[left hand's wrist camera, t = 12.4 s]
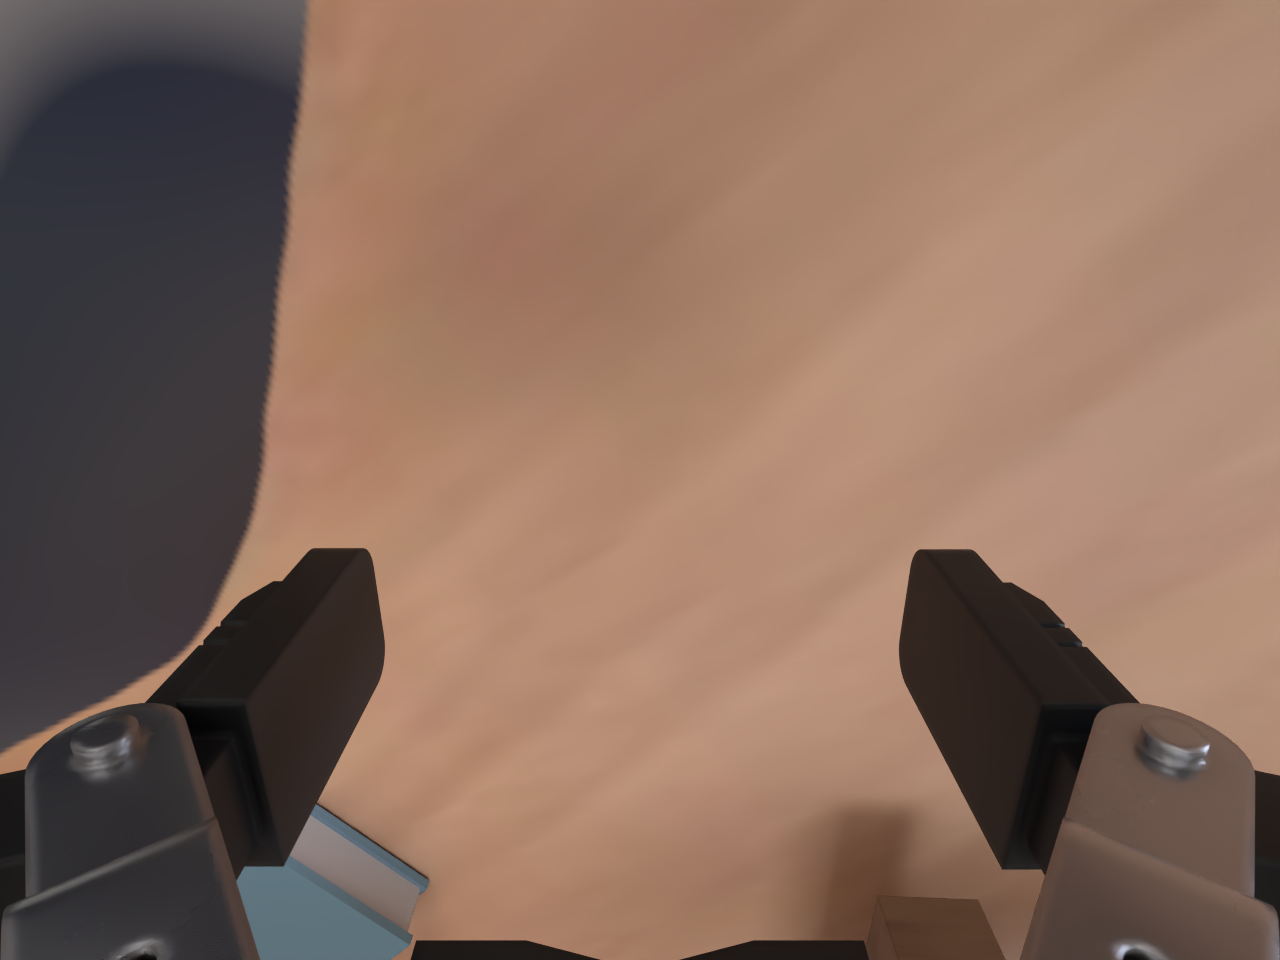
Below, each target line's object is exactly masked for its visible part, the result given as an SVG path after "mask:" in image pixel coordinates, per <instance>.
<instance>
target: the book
mask: <svg viewBox="0 0 1280 960" xmlns="http://www.w3.org/2000/svg"><path fill="white" fill-rule="evenodd" d="M236 882H237V885H238V888H239V892H240V895H241V898H242V901H243V905H244V908H245V911H246V915H247V918H248V921H249V924H250V928H251V931H252V934H253V937H254V941H255V944H256V947H257V950H258V954H259V957H260V960H391V959H392V958H394V957H395V956H396V955H397V954H399V953H400V952H401V951H403V950H404V949H405V948H407V947H408V946H409V945H410V943H411V940H412V936H413V935H411V934H410V933H408V932H407V931H408V928H409V924H410V921H411V918H412V915H413V911H414V908H415V905H416V902H417V898H418V895H420V894H421V893H422V892H424V891H425V890H426V889H427V886H428V883H429V880H427V879H426V878H424V877H423V876H421V875H420V874H418V873H417V872H415V871H414V870H413V869H411V868H410V867H408V866H407V865H405V864H404V863H402V862H401V861H399V860H398V859H396V858H395V857H393V856H392V855H390V854H389V853H387V852H386V851H384V850H383V849H382V848H380V847H379V846H377V845H376V844H374V843H373V842H371V841H370V840H368V839H367V838H365V837H364V836H362V835H361V834H359V833H358V832H356V831H355V830H354V829H352V828H351V827H349V826H348V825H346V824H345V823H343V822H342V821H340V820H339V819H337V818H336V817H334V816H333V815H331V814H330V813H328V812H327V811H326V810H324V809H323V808H321V807H320V806H318V805H317V804H316V805H315V807H314V809H313V811H312V813H311V815H310V817H309V818H308V820H307V822H306V824H305V826H304V828H303V830H302V832H301V834H300V836H299V838H298V840H297V842H296V844H295V846H294V848H293V850H292V851H291V853H290V855H289V857H288V859H287V861H286V863H285V865H284V867H244V869H243V870H242V872H241V874H240V876H239V877H238V879H237V881H236Z"/></svg>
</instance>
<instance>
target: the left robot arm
mask: <svg viewBox="0 0 1280 960" xmlns="http://www.w3.org/2000/svg"><path fill="white" fill-rule="evenodd" d="M203 641H204V643H203V645H199V646H198V647H197V648H196V649H195V650H194V651H193V652H192V653H191V654H190V655H189V656H188V657H187V659H186V660H185V661H184V662H183V663H182V664H181V665H180V666H179V667H178V668H177V669H176V670H175V671H174V672H173V673H172V675H171V676H170V677H169V678H168V679H167V680H166V681H165V682H164V683H163V684H162V685H161V686H160V687H159V688H158V689H157V691H156V692H155V693H154V694H153V695H152V696H151V697H150V698H149V699H148V700H147V701H146V702H145V703H140V704H132V705H126V706H121V707H117V708H113V709H110V710H106V711H103V712H100V713H98V714H95V715H92V716H90V717H88V718H85V719H83V720H81V721H79V722H77V723H75V724H73V725H71V726H70V727H68V728H66V729H64V730H63V731H61V732H60V733H58V734H57V735H55V736H54V737H53V738H51V739H50V740H49V741H48V742H46V743H45V744H44V745H43V746H42V747H41V748H40V749H39V750H38V751H37V752H36V753H35V755H34V756H33V757H32V759H31V760H30V762H29V764H28V766H27V768H26V769H25V770H20V771H15V772H10V773H6V774H1V775H0V960H260V957H259V954H258V950H257V947H256V944H255V941H254V937H253V934H252V931H251V928H250V924H249V921H248V918H247V915H246V911H245V908H244V905H243V901H242V898H241V895H240V892H239V888H238V885H237V882H236V881H237V879H238V877H239V876H240V874H241V872H242V870H243V869H244V867H284V865H285V863H286V861H287V859H288V857H289V855H290V853H291V851H292V850H293V848H294V846H295V844H296V842H297V840H298V838H299V836H300V834H301V832H302V830H303V828H304V826H305V824H306V822H307V820H308V818H309V817H310V815H311V813H312V811H313V809H314V807H315V805H316V803H317V801H318V799H319V797H320V795H321V793H322V791H323V789H324V787H325V785H326V784H327V782H328V780H329V778H330V776H331V774H332V772H333V770H334V768H335V766H336V764H337V762H338V760H339V758H340V756H341V754H342V753H343V751H344V749H345V747H346V745H347V743H348V741H349V739H350V737H351V735H352V733H353V731H354V729H355V727H356V725H357V723H358V721H359V720H360V718H361V716H362V714H363V712H364V710H365V708H366V706H367V704H368V702H369V700H370V698H371V696H372V694H373V692H374V690H375V688H376V687H377V685H378V682H379V680H380V677H381V674H382V670H383V665H384V656H385V641H384V633H383V626H382V620H381V613H380V606H379V599H378V593H377V586H376V579H375V573H374V566H373V561H372V558H371V555H370V553H369V552H368V551H367V550H366V549H364V548H313V549H311V550H310V551H309V552H307V554H306V555H305V556H304V557H303V558H302V559H301V560H300V562H299V563H298V564H297V565H296V566H295V567H294V568H293V569H292V571H291V572H290V573H289V574H288V575H287V576H286V577H285V579H284V580H283V581H273V582H271V583H270V584H268V585H266V586H265V587H263V588H261V589H259V590H258V591H256V592H254V593H253V594H251V595H249V596H248V597H246V598H244V599H242V600H241V601H240V602H239V603H238V604H237V605H236V606H235V607H234V608H233V610H232V611H231V612H230V613H229V614H228V615H227V616H226V617H225V618H224V619H223V620H222V621H221V626H220V627H216V628H215V629H214V630H213V631H212V632H211V633H210V634H209V635H208V636H207V637H206V638H205V639H204V640H203ZM899 659H900V667H901V672H902V676H903V679H904V682H905V684H906V686H907V688H908V690H909V692H910V694H911V696H912V698H913V699H914V701H915V703H916V705H917V707H918V709H919V711H920V713H921V715H922V717H923V719H924V721H925V722H926V724H927V726H928V728H929V730H930V732H931V734H932V736H933V738H934V740H935V742H936V744H937V745H938V747H939V749H940V751H941V753H942V755H943V757H944V759H945V761H946V763H947V765H948V767H949V768H950V770H951V772H952V774H953V776H954V778H955V780H956V782H957V784H958V786H959V788H960V790H961V791H962V793H963V795H964V797H965V799H966V801H967V803H968V805H969V807H970V809H971V811H972V813H973V814H974V816H975V818H976V820H977V822H978V824H979V826H980V828H981V830H982V832H983V834H984V836H985V837H986V839H987V841H988V843H989V845H990V847H991V849H992V851H993V853H994V855H995V857H996V859H997V860H998V862H999V864H1000V866H1001V868H1002V869H1042V871H1043V873H1044V875H1045V879H1044V882H1043V885H1042V888H1041V892H1040V895H1039V898H1038V901H1037V905H1036V908H1035V911H1034V915H1033V918H1032V921H1031V924H1030V928H1029V931H1028V934H1027V937H1026V941H1025V944H1024V947H1023V950H1022V954H1021V957H1020V960H1280V776H1279V775H1274V774H1269V773H1264V772H1260V771H1256V770H1254V768H1253V766H1252V764H1251V762H1250V760H1249V759H1248V757H1247V756H1246V755H1245V753H1244V752H1243V751H1242V750H1241V749H1240V748H1239V747H1238V746H1237V745H1236V744H1235V743H1234V742H1232V741H1231V740H1230V739H1229V738H1227V737H1226V736H1225V735H1223V734H1222V733H1220V732H1219V731H1217V730H1216V729H1214V728H1212V727H1210V726H1209V725H1207V724H1205V723H1203V722H1201V721H1199V720H1197V719H1195V718H1192V717H1190V716H1188V715H1185V714H1182V713H1180V712H1177V711H1174V710H1170V709H1167V708H1163V707H1159V706H1154V705H1148V704H1140V703H1139V702H1138V701H1137V700H1136V699H1135V698H1134V696H1133V695H1132V694H1131V693H1130V692H1129V691H1128V690H1127V689H1126V688H1125V687H1124V686H1123V685H1122V684H1121V683H1120V682H1119V681H1118V680H1117V679H1116V677H1115V676H1114V675H1113V674H1112V673H1111V672H1110V671H1109V670H1108V669H1107V668H1106V667H1105V666H1104V665H1103V664H1102V663H1101V662H1100V661H1099V659H1098V658H1097V657H1096V656H1095V655H1094V654H1093V653H1092V652H1091V651H1090V650H1089V649H1088V648H1087V647H1083V646H1082V642H1081V640H1080V639H1079V638H1078V637H1077V636H1076V635H1075V634H1074V633H1073V632H1072V631H1071V630H1070V629H1069V628H1065V626H1064V623H1063V621H1062V620H1061V619H1060V618H1059V617H1058V616H1057V615H1056V614H1055V613H1054V612H1053V611H1052V610H1051V609H1050V608H1049V607H1048V606H1047V605H1046V604H1045V602H1044V601H1042V600H1040V599H1038V598H1037V597H1035V596H1033V595H1032V594H1030V593H1028V592H1026V591H1025V590H1023V589H1021V588H1020V587H1018V586H1016V585H1014V584H1013V583H1003V582H1002V581H1001V580H1000V579H999V578H998V577H997V576H996V574H995V573H994V572H993V571H992V570H991V569H990V568H989V567H988V565H987V564H986V563H985V562H984V561H983V560H982V559H981V558H980V556H979V555H978V554H977V553H976V552H975V551H973V550H969V549H920V550H918V551H917V552H916V553H915V555H914V557H913V559H912V563H911V568H910V574H909V581H908V587H907V594H906V601H905V607H904V614H903V621H902V627H901V634H900V641H899ZM411 960H599V959H595V958H591V957H587V956H584V955H580V954H576V953H572V952H568V951H564V950H561V949H557V948H553V947H549V946H545V945H541V944H538V943H534V942H530V941H416V944H415V947H414V950H413V954H412V957H411ZM681 960H869V957H868V954H867V950H866V947H865V944H864V941H750V942H746V943H742V944H739V945H735V946H731V947H727V948H723V949H719V950H716V951H712V952H708V953H704V954H700V955H696V956H693V957H689V958H685V959H681Z"/></svg>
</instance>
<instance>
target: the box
mask: <svg viewBox="0 0 1280 960" xmlns="http://www.w3.org/2000/svg"><path fill="white" fill-rule="evenodd" d="M866 950H867V954H868V957H869V960H1005V958H1004V955H1003V953H1002V951H1001V949H1000V947H999V944H998V942H997V940H996V938H995V936H994V934H993V931H992V929H991V927H990V925H989V923H988V920H987V918H986V916H985V914H984V912H983V909H982V907H981V905H980V903H979V901H978V900H972V899H947V898H922V897H896V896H878V898H877V902H876V906H875V911H874V915H873V919H872V923H871V928H870V932H869V936H868V940H867V945H866Z"/></svg>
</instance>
